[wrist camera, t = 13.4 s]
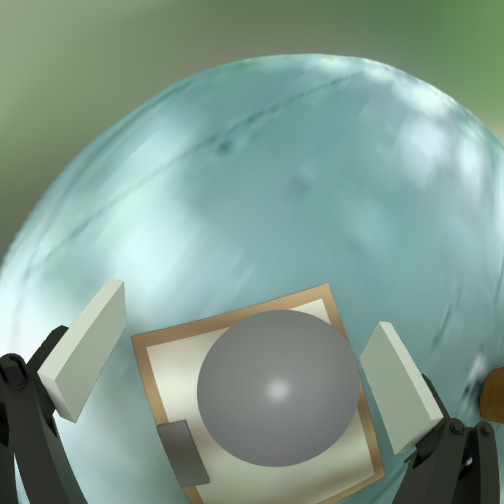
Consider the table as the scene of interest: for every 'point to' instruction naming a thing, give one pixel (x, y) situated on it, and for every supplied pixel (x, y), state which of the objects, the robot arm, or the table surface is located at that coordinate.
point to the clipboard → (213, 455)
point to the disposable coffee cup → (493, 397)
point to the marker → (278, 388)
